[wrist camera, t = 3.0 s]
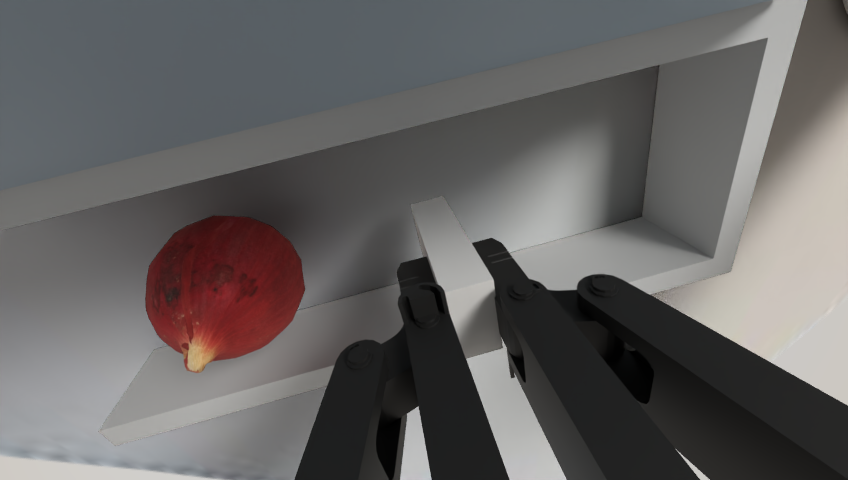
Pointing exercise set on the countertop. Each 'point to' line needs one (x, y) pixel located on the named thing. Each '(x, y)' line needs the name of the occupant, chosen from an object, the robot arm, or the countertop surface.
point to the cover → (257, 63)
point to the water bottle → (845, 5)
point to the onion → (223, 289)
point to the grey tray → (547, 263)
